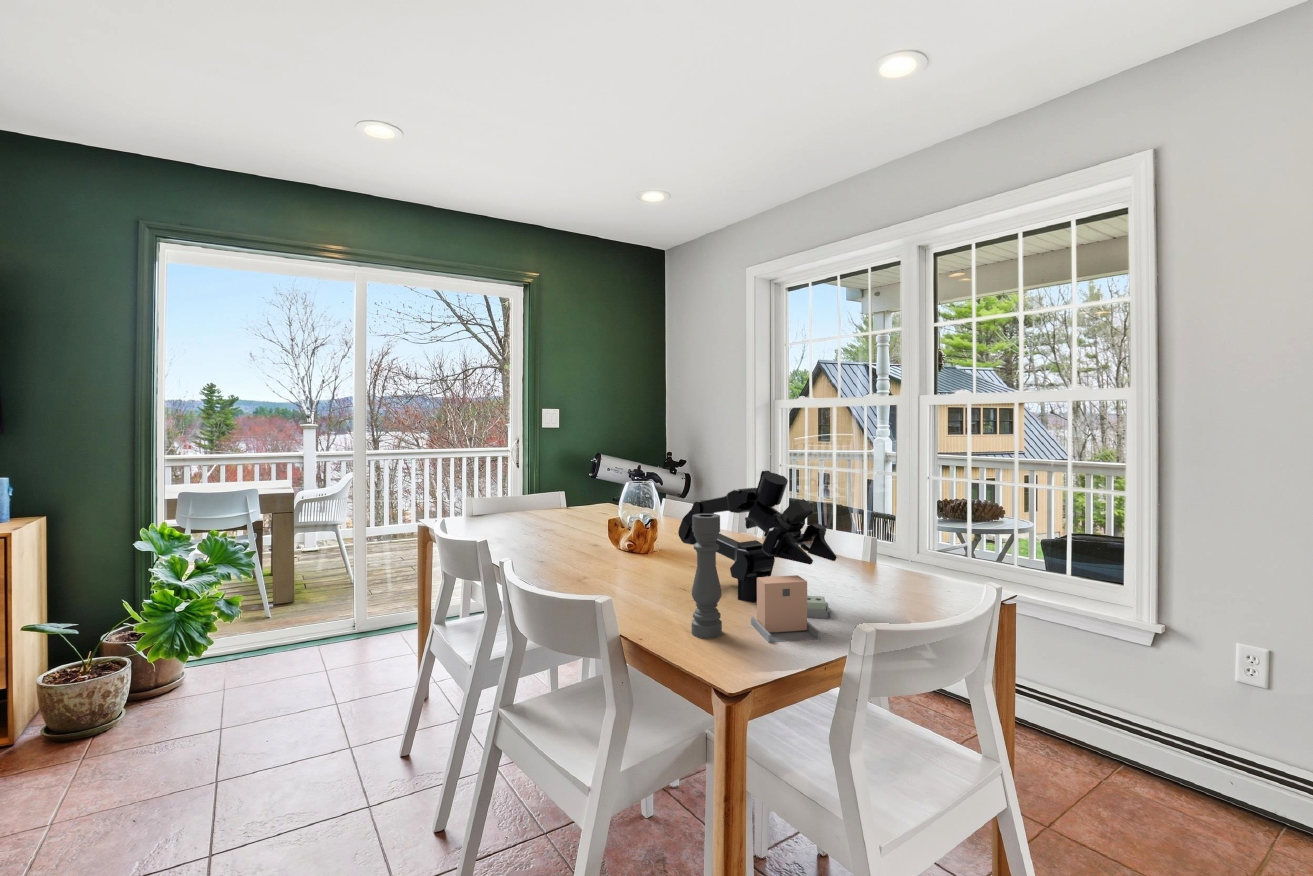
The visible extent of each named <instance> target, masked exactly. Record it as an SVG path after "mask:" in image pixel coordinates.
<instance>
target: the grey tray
mask: <svg viewBox="0 0 1313 876" xmlns="http://www.w3.org/2000/svg"><path fill="white" fill-rule="evenodd" d="M750 625H751V626H752V627H753V628H754V629H755V630H756V631H757V632H758V634H759V635H761V636H762V637H763V639H764V640H765V641H766V642H768V643H782V642H784V643H787V642H796V641H797V642H799V641H812V640H813V641H815V640H821V630H820V629H818V628H817V627H815V626H814V625H813V624H812V623H810V622H809V621H808V620H807V630H800V631H786V632H771V633H769V632H768V631H767V630H766V629H765V628H764V627H763V626H762V625H761V624H760V623H759V622H758V621H757V618H755V617H754V616H751V617H750Z"/></svg>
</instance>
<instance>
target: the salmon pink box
mask: <svg viewBox="0 0 1313 876" xmlns="http://www.w3.org/2000/svg"><path fill="white" fill-rule="evenodd" d="M807 596H808V580H806V579H805V578H803V577H801V576H799V575H779V576H778V575H777V576H769V577H768V576H767V577H757V602H756V620H757V621H758V622H759V623H760V624H761V625H762V626H763V627H764V628H765V629H766V630H767V631H768V632H769V633H771V632H786V631H800V630H807V621H808V618H807Z"/></svg>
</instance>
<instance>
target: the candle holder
mask: <svg viewBox="0 0 1313 876" xmlns="http://www.w3.org/2000/svg"><path fill="white" fill-rule="evenodd" d="M692 532H694V537H695V538H696V540H697V543H696V544H694V545H693V550H695V552H696V570H695V573H694V579H693V584H692V588H691V597H692V600H693V601H694V602H695V607H696V608H695V610H694V612H692V618H693V619H692V620H691V635H692V636H693V637H695V638H698V639H704V640H705V639H710V640H711V639H716V638H719V637H721V636H722V635H723V630H722V628H723V621H722V620H721V616H722V615H721V612H720V611H719V609H718V603H719V602H720V600H721V599H722V595H723V594H722V587H721V584H720V577H719V575H718V570H717V560H716V559H717V550H718V549H719V545H718V544H717V543H716V540H717V538H718V536H719V533H720V532H721V515H720V514H716V513H714V514H695V515H692Z"/></svg>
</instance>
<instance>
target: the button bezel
mask: <svg viewBox="0 0 1313 876" xmlns="http://www.w3.org/2000/svg"><path fill="white" fill-rule="evenodd" d="M807 619H817V620H818V619H819V620H834V617H833V614H832V610H831V608H830V606H829V603H828V602H826V611H818V610H807Z"/></svg>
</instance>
